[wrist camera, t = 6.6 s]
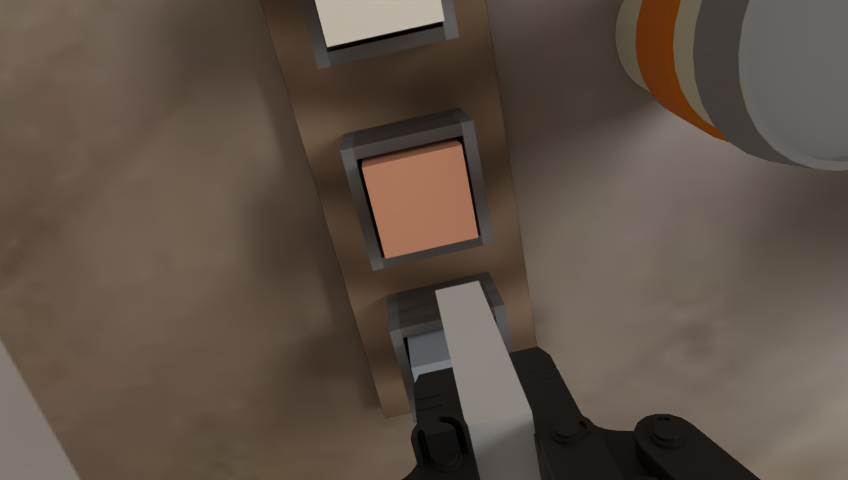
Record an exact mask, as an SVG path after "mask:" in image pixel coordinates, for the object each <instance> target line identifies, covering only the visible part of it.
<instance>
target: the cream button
mask: <svg viewBox="0 0 848 480" xmlns="http://www.w3.org/2000/svg"><path fill="white" fill-rule="evenodd" d="M315 3H316V7H317V11H318V14H319V18H320V22H321V26H322V30H323V34H324V37H325V41H326V45H327V47H330V46H335V45H339V44H343V43H348V42H352V41H357V40H361V39H366V38H370V37H374V36H379V35H383V34H388V33H392V32H397V31H401V30H405V29H410V28H414V27H419V26H423V25H428V24H432V23H436V22H441V21H445V20H444V15H443V9H442V4H441V0H315Z"/></svg>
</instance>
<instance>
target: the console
mask: <svg viewBox="0 0 848 480" xmlns="http://www.w3.org/2000/svg"><path fill="white" fill-rule="evenodd" d="M260 1H261V5H262V8H263V11H264V15H265V18H266V21H267V25H268V28H269V32H270V35H271V38H272V42H273V45H274V48H275V52H276V55H277V58H278V62H279V65H280V68H281V72H282V75H283V78H284V82H285V85H286V88H287V92H288V95H289V98H290V102H291V105H292V108H293V112H294V115H295V118H296V122H297V125H298V129H299V132H300V135H301V139H302V142H303V145H304V149H305V152H306V155H307V159H308V162H309V165H310V169H311V172H312V175H313V179H314V182H315V185H316V189H317V192H318V195H319V199H320V202H321V205H322V209H323V212H324V216H325V219H326V222H327V226H328V229H329V232H330V236H331V239H332V242H333V246H334V249H335V252H336V256H337V259H338V262H339V266H340V269H341V272H342V276H343V279H344V282H345V286H346V289H347V292H348V296H349V299H350V302H351V306H352V309H353V313H354V316H355V319H356V323H357V326H358V329H359V333H360V336H361V339H362V343H363V346H364V349H365V353H366V356H367V359H368V363H369V366H370V369H371V373H372V376H373V379H374V383H375V386H376V389H377V393H378V396H379V399H380V403H381V406H382V410H383V413H384V416H385V418H389V417H393V416H397V415H402V414H406V413H410V412H412V416H413V420H414V423H415V422H417V420H416V410H415V400H414V391H413V387H414V384H415V381H414V377H413V373H412V369H411V362H410V354H409V346H408V338H407V337H409V336H413V335H417V334H422V333H426V332H430V331H435V330H439V329H443V323H442V319H441V315H440V310H439V306H438V301H437V297H436V292H435V291H436V290H440V289H444V288H449V287H453V286H458V285H462V284H466V283H471V282H475V281H479V283H480V286H481V288H482V290H483V293H484V295H485V298H486V300H487V303H488V305H489V308H490V310H491V313H492V315H493V317H494V320H495V322H496V325H497V327H498V330H499V332H500V335H501V337H502V340H503V342H504V345H505V347H506V349H507V352H508V353H511V352H515V351H520V350H524V349H529V348H533V347H537V343H536V336H535V329H534V323H533V316H532V309H531V302H530V296H529V289H528V282H527V275H526V269H525V262H524V255H523V249H522V242H521V235H520V228H519V222H518V215H517V208H516V201H515V195H514V188H513V181H512V174H511V168H510V161H509V154H508V147H507V141H506V134H505V127H504V121H503V114H502V107H501V100H500V94H499V87H498V80H497V73H496V67H495V60H494V53H493V46H492V40H491V33H490V26H489V19H488V13H487V6H486V0H441V4H442V9H443V15H444V20H445V21H441V22H436V23H432V24H428V25H423V26H419V27H414V28H410V29H405V30H401V31H397V32H392V33H388V34H383V35H379V36H374V37H370V38H366V39H361V40H357V41H352V42H348V43H343V44H339V45H335V46H330V47H327V45H326V41H325V37H324V34H323V30H322V26H321V22H320V18H319V14H318V11H317V7H316V3H315V0H260ZM453 137H456V138H457V140H458V141H459V142H460V144H461V145H462V150H463V155H464V161H465V166H466V172H467V177H468V183H469V188H470V194H471V199H472V205H473V210H474V216H475V221H476V227H477V232H478V238H474V239H469V240H465V241H461V242H456V243H452V244H448V245H443V246H439V247H435V248H430V249H426V250H422V251H417V252H413V253H409V254H404V255H400V256H396V257H391V258H387V259H385V255H384V251H383V247H382V243H381V240H380V236H379V232H378V228H377V224H376V220H375V217H374V213H373V209H372V205H371V201H370V197H369V193H368V190H367V186H366V182H365V178H364V174H363V170H362V158H366V157H370V156H374V155H379V154H383V153H388V152H392V151H396V150H401V149H405V148H409V147H414V146H418V145H423V144H427V143H431V142H436V141H440V140H445V139H449V138H453Z"/></svg>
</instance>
